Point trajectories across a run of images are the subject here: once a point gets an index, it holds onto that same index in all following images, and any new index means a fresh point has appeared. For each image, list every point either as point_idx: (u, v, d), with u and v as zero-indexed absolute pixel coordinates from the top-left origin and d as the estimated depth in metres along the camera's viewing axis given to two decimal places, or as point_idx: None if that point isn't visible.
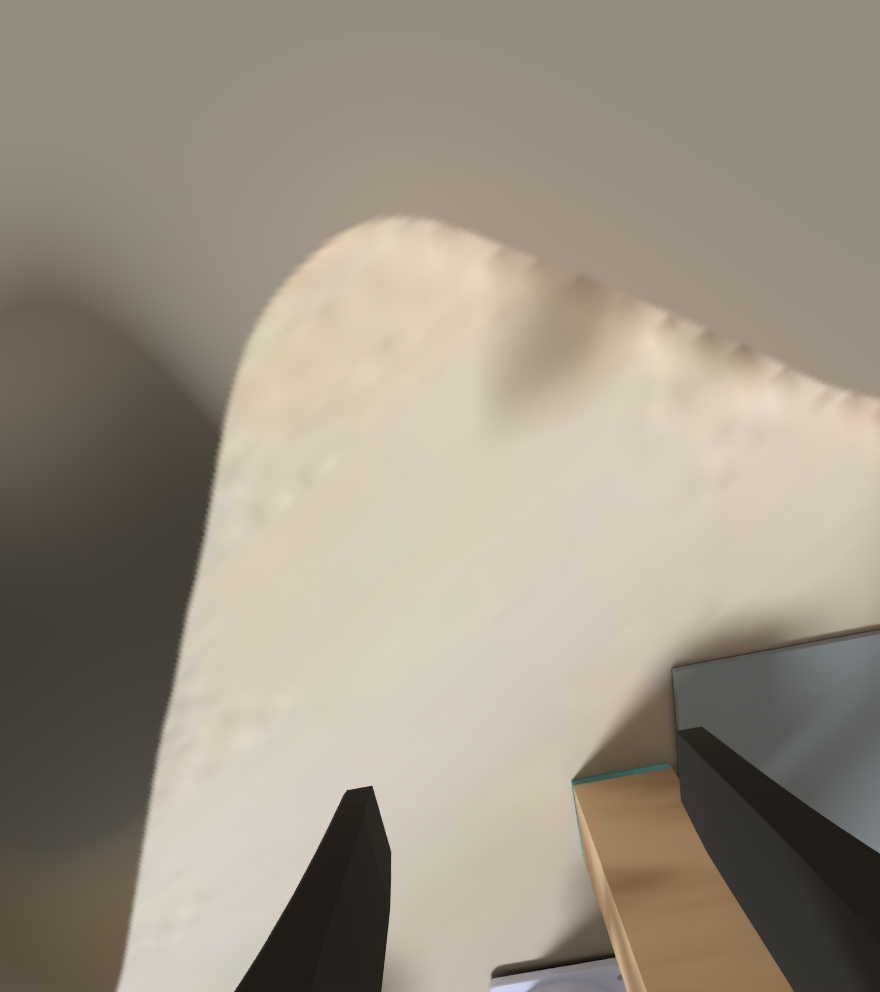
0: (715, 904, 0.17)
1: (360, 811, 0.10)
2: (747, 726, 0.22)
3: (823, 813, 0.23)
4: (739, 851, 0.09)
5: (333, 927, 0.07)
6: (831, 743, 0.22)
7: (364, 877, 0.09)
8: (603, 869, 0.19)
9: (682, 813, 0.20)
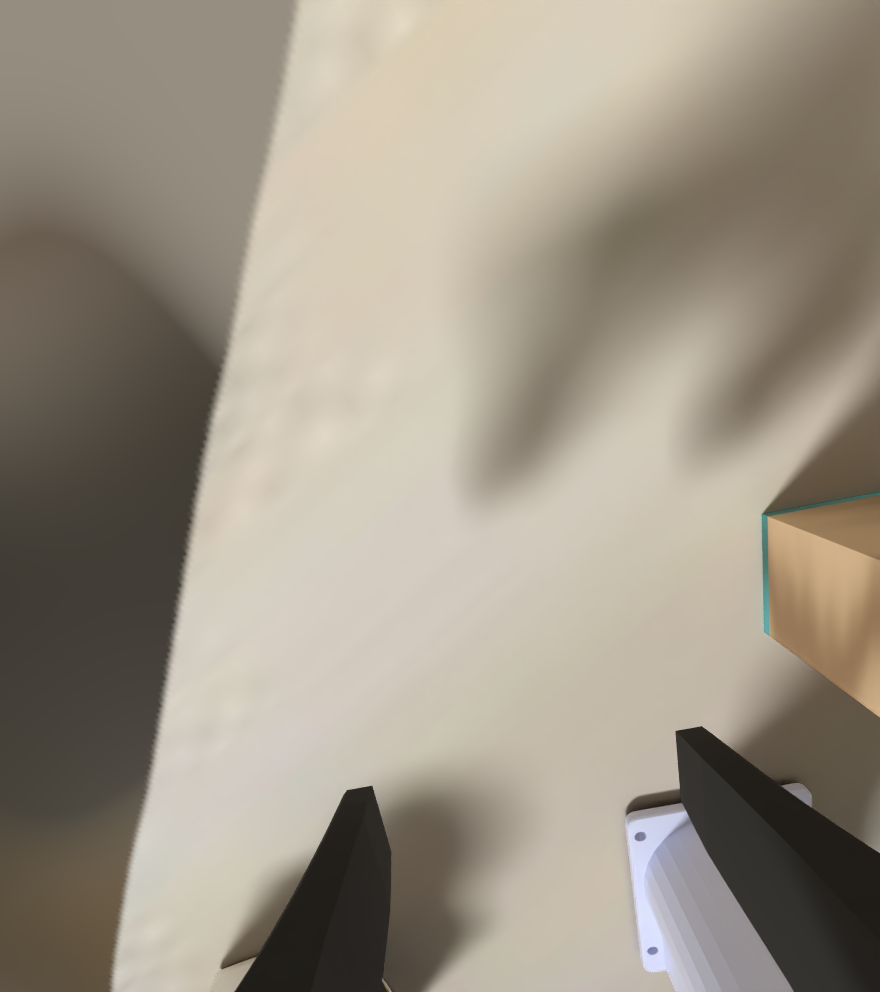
0: None
1: (360, 811, 0.10)
2: None
3: None
4: (739, 851, 0.09)
5: (333, 927, 0.07)
6: None
7: (364, 877, 0.09)
8: (871, 558, 0.13)
9: None
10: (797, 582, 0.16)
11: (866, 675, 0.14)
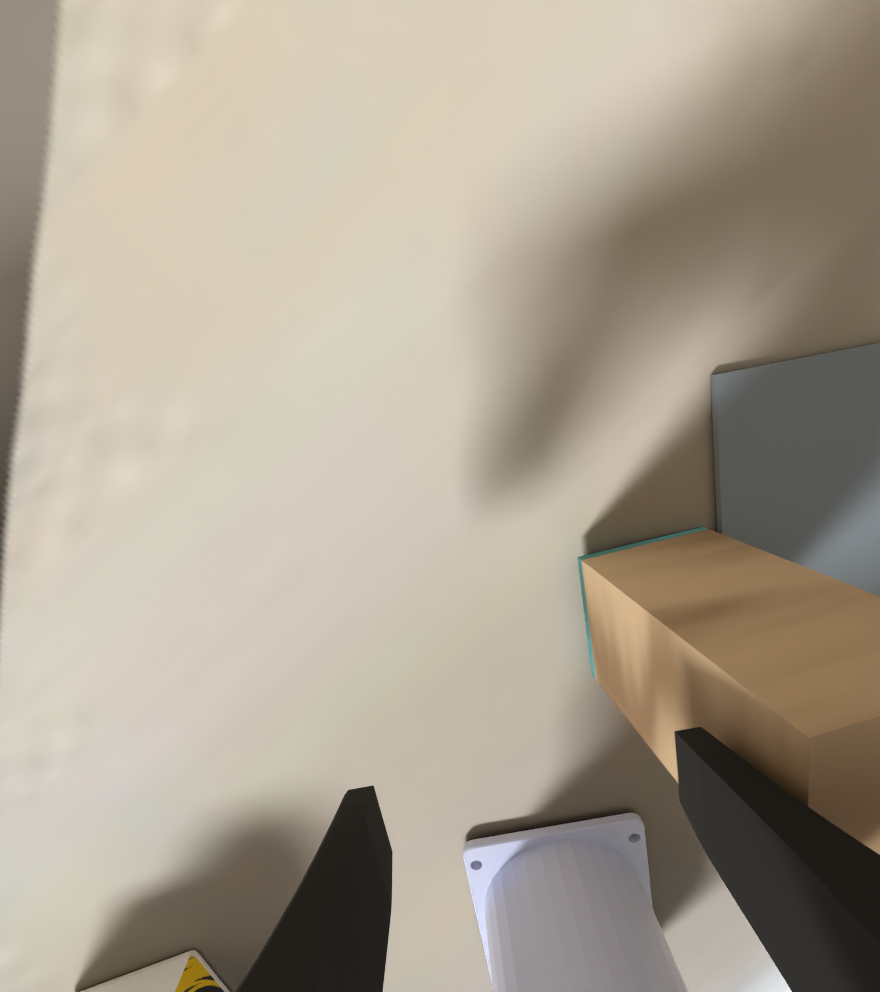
0: (830, 612, 0.11)
1: (361, 811, 0.10)
2: (811, 465, 0.16)
3: None
4: (738, 851, 0.09)
5: (335, 927, 0.07)
6: None
7: (365, 877, 0.09)
8: (648, 612, 0.12)
9: (739, 555, 0.14)
10: (606, 629, 0.15)
11: (658, 730, 0.13)
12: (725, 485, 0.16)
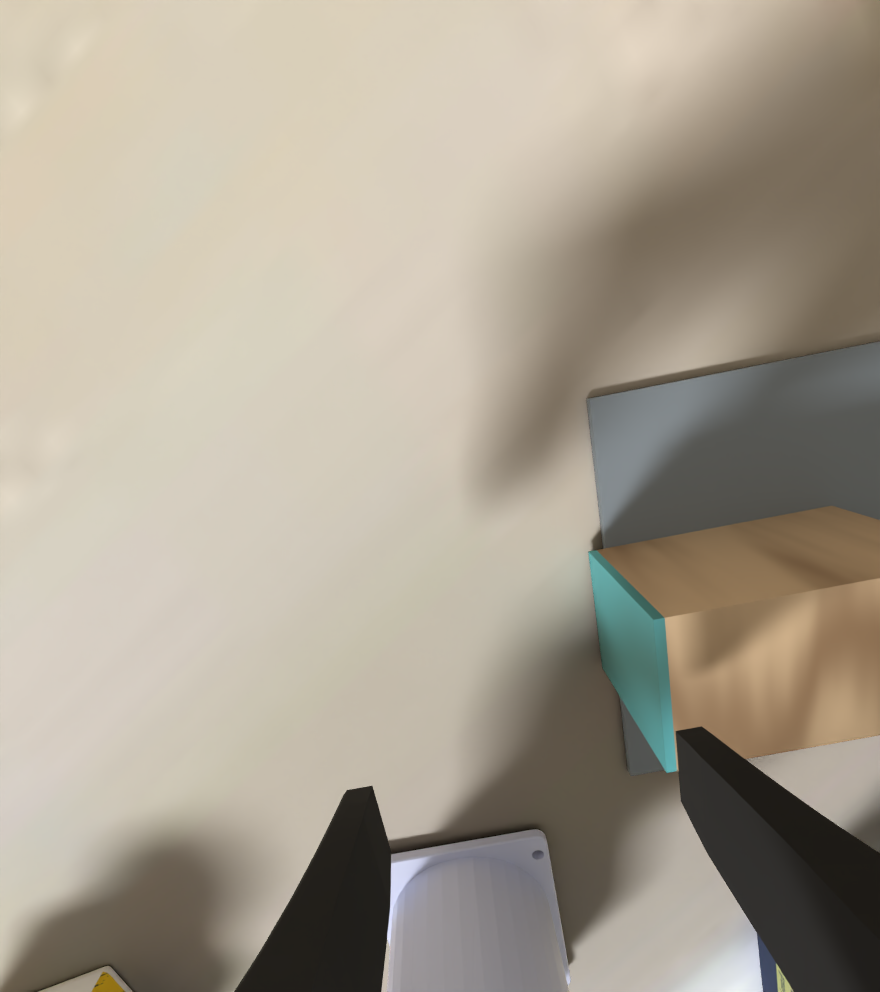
0: (785, 532, 0.15)
1: (360, 811, 0.10)
2: (691, 487, 0.16)
3: None
4: (739, 851, 0.09)
5: (333, 927, 0.07)
6: None
7: (364, 877, 0.09)
8: (816, 590, 0.12)
9: (670, 545, 0.16)
10: (719, 674, 0.12)
11: (816, 713, 0.13)
12: (606, 507, 0.16)
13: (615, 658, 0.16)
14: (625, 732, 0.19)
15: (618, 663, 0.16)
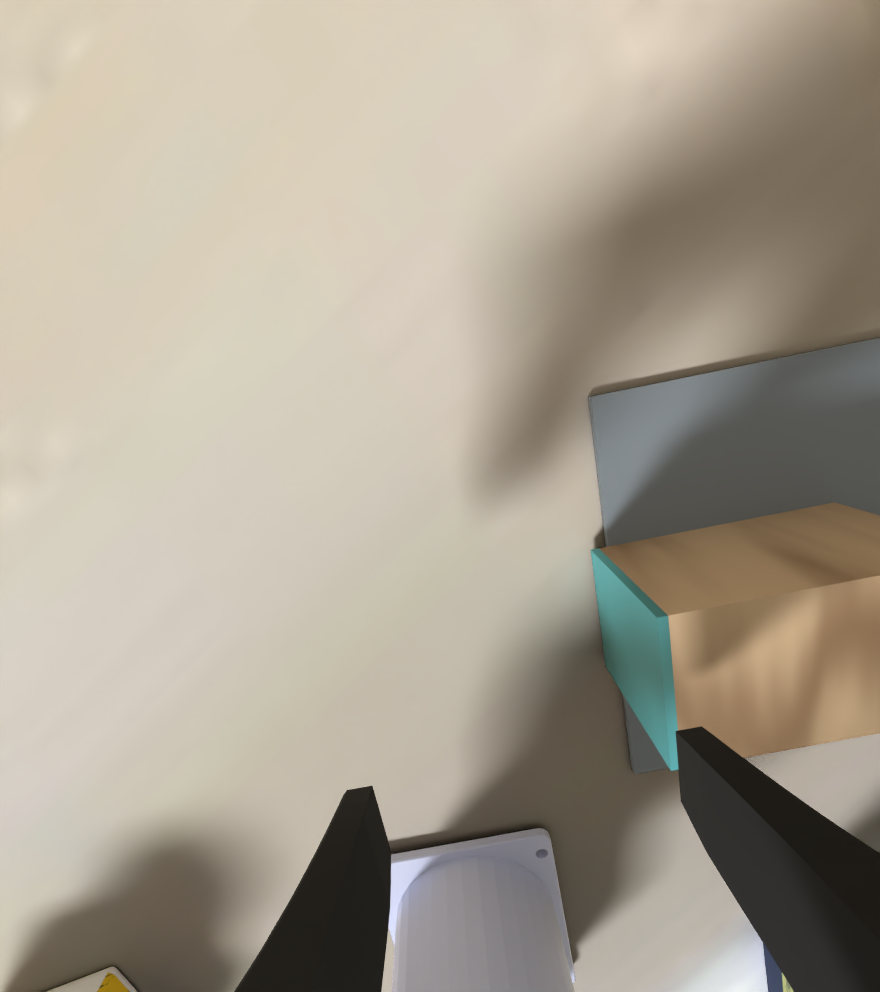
0: (788, 529, 0.15)
1: (360, 811, 0.10)
2: (693, 484, 0.16)
3: None
4: (739, 851, 0.09)
5: (333, 927, 0.07)
6: None
7: (364, 877, 0.09)
8: (820, 587, 0.12)
9: (673, 543, 0.16)
10: (724, 672, 0.12)
11: (821, 711, 0.13)
12: (608, 505, 0.16)
13: (618, 656, 0.16)
14: (628, 730, 0.19)
15: (621, 661, 0.16)
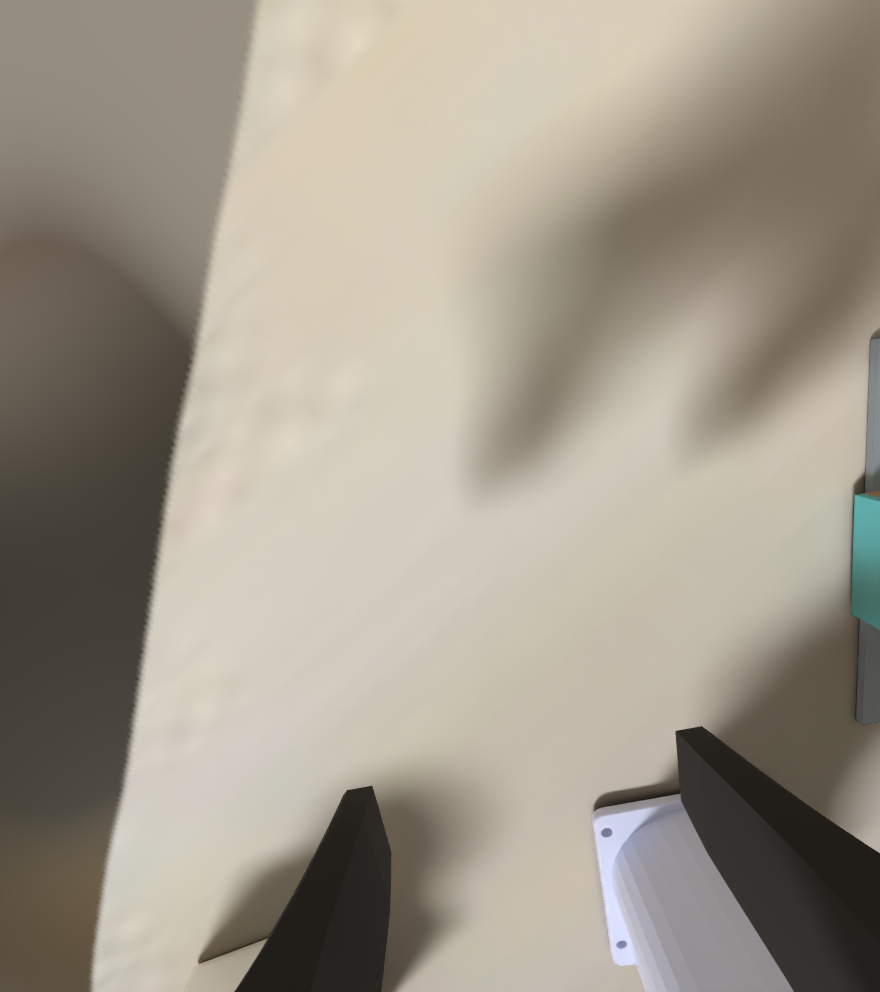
0: None
1: (360, 811, 0.10)
2: None
3: None
4: (739, 851, 0.09)
5: (333, 927, 0.07)
6: None
7: (364, 877, 0.09)
8: None
9: None
10: None
11: None
12: (879, 449, 0.16)
13: None
14: (862, 680, 0.19)
15: None
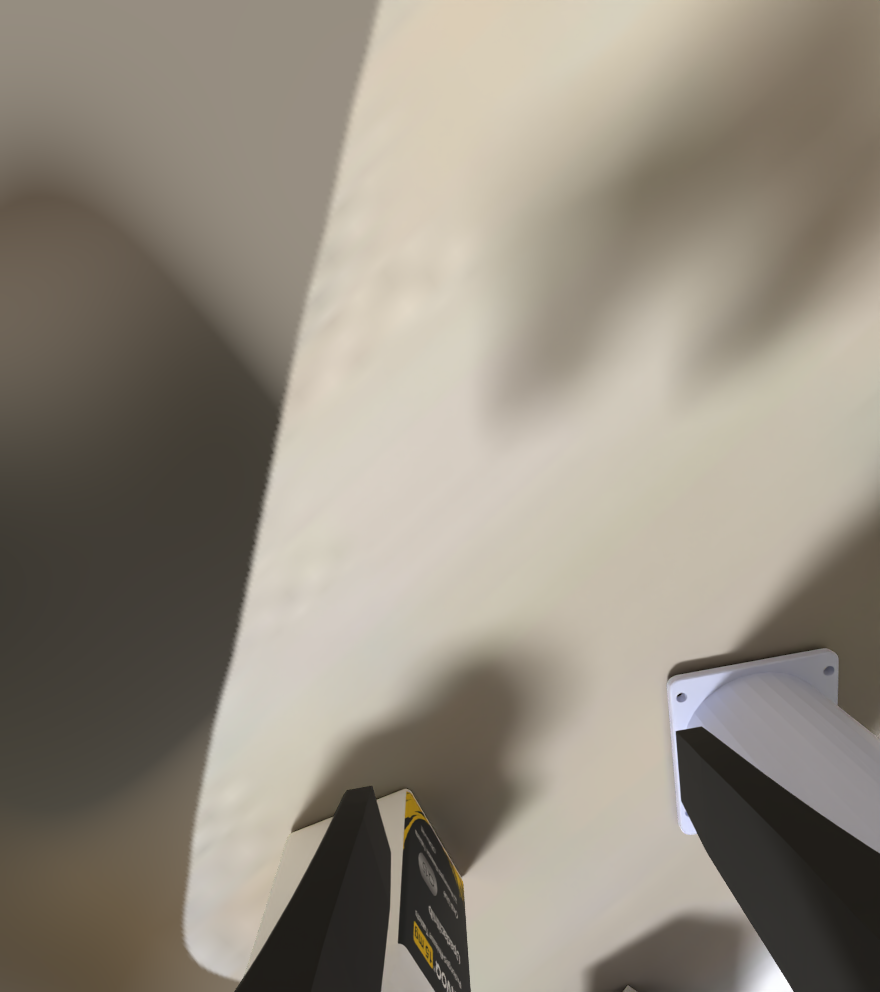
0: None
1: (360, 811, 0.10)
2: None
3: None
4: (739, 851, 0.09)
5: (333, 927, 0.07)
6: None
7: (364, 877, 0.09)
8: None
9: None
10: None
11: None
12: None
13: None
14: None
15: None
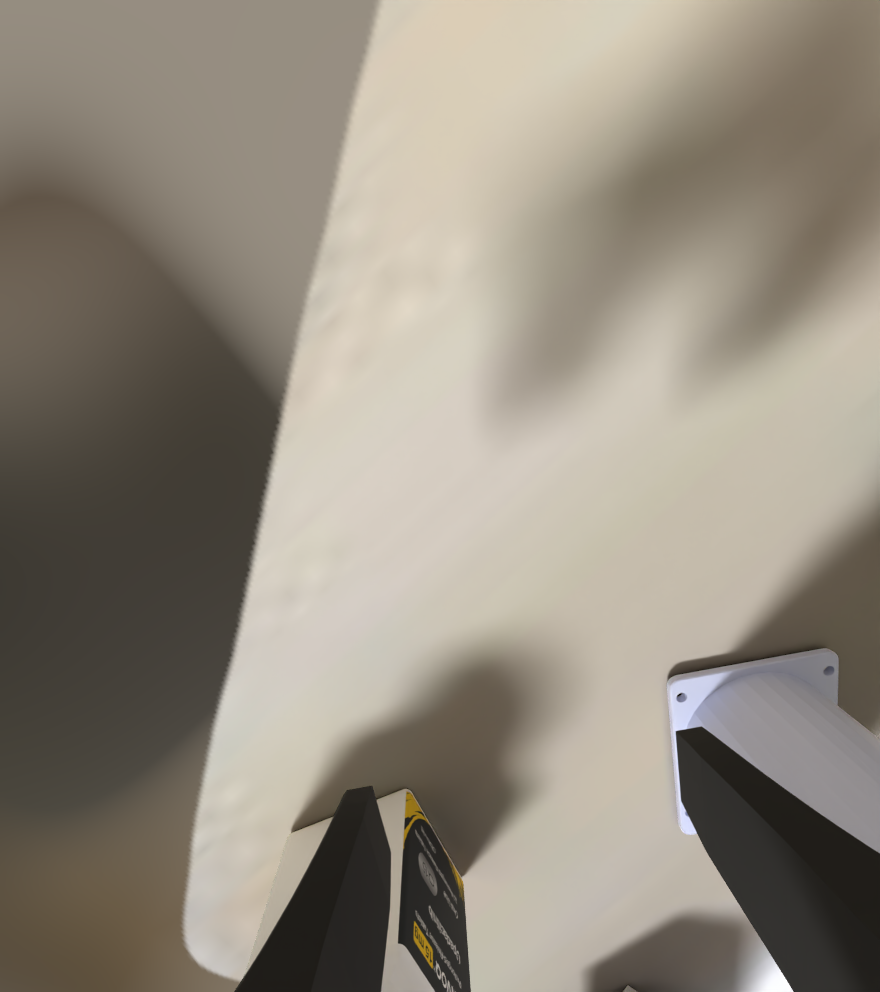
0: None
1: (360, 811, 0.10)
2: None
3: None
4: (739, 851, 0.09)
5: (333, 927, 0.07)
6: None
7: (364, 877, 0.09)
8: None
9: None
10: None
11: None
12: None
13: None
14: None
15: None
